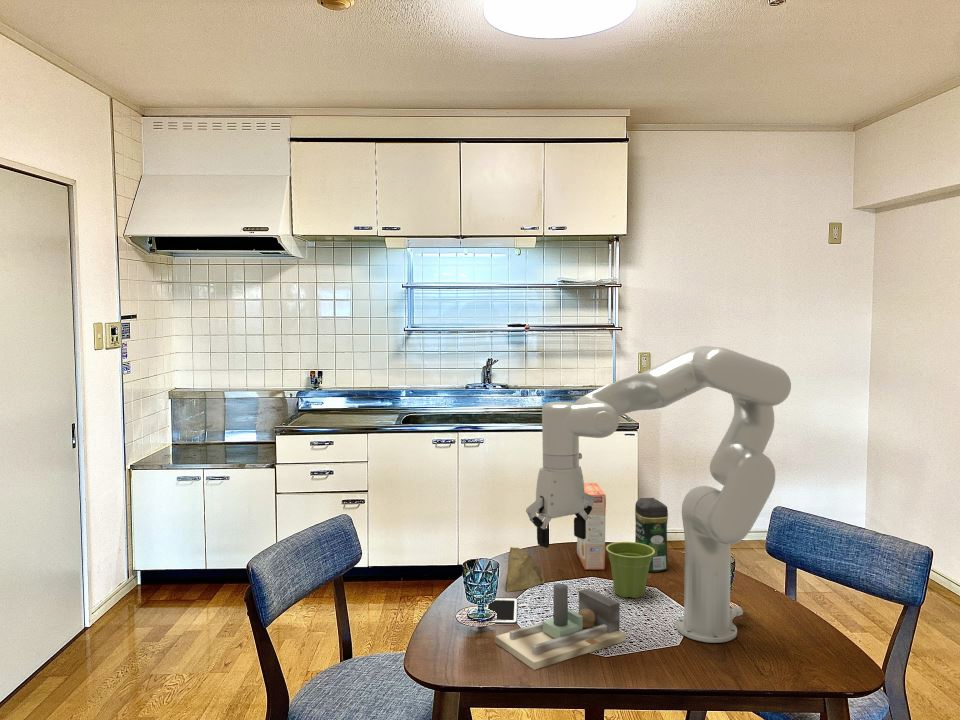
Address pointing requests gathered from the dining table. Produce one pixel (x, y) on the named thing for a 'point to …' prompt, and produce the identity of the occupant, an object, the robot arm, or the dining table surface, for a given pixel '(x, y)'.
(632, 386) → the robot arm
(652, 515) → the coffee jar
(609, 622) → the press frame
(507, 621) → the cell phone
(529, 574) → the rock
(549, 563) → the dining table surface
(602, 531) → the cracker box
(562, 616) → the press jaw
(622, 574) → the plant pot
